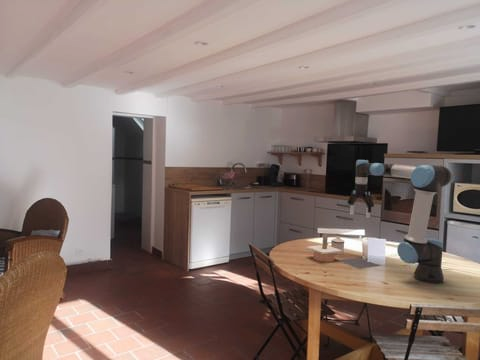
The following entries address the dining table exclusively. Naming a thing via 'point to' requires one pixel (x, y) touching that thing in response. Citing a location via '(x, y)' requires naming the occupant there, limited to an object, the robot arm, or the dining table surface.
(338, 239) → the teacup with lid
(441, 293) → the dining table surface
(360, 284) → the dining table surface
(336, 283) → the dining table surface
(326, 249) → the lid
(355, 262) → the mat
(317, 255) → the bowl
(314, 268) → the dining table surface
